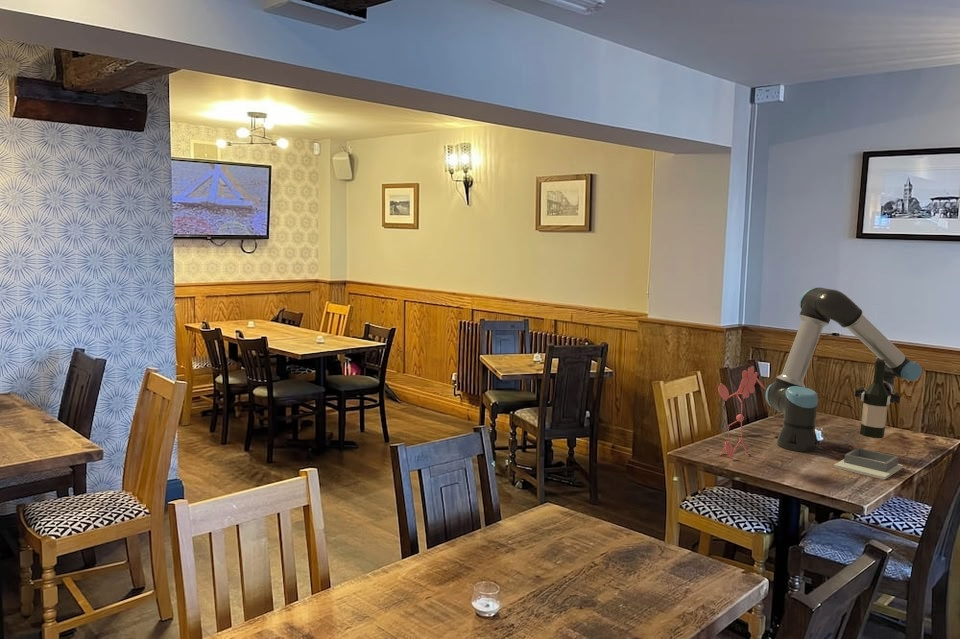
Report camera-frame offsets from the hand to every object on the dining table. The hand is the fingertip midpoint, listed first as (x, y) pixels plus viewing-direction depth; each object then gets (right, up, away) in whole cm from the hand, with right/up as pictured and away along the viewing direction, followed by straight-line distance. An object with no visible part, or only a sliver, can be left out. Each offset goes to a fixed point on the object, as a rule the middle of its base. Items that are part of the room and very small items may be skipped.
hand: (875, 399), depth 271 cm
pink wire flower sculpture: (-52, -22, -4) cm, 56 cm away
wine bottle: (+2, -15, +6) cm, 16 cm away
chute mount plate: (-8, -24, -10) cm, 27 cm away
